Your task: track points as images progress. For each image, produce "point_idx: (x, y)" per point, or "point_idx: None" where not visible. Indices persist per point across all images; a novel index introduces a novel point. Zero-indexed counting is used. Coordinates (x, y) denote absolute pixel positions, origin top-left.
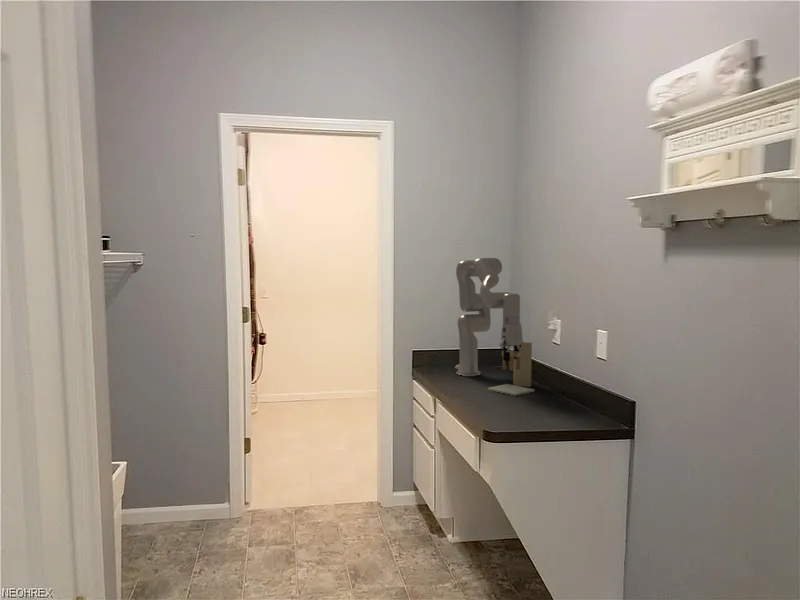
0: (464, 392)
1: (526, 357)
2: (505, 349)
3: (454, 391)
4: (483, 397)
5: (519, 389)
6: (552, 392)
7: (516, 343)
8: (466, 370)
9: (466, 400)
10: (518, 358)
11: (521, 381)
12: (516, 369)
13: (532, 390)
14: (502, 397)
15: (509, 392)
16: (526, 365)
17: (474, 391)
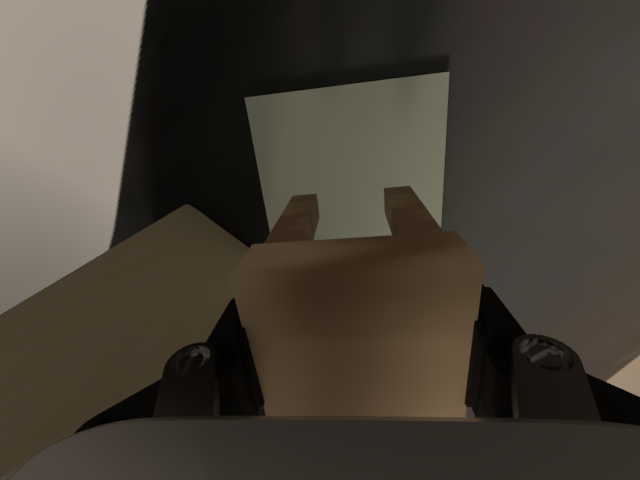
0: (563, 303)
1: (83, 321)
2: (616, 403)
3: (575, 341)
4: (610, 166)
5: (325, 152)
6: (163, 3)
7: (336, 472)
8: None
9: None
10: (298, 237)
11: (219, 244)
12: (216, 302)
13: (266, 95)
14: (531, 95)
15: (439, 127)
16: (135, 277)
17: (507, 291)
